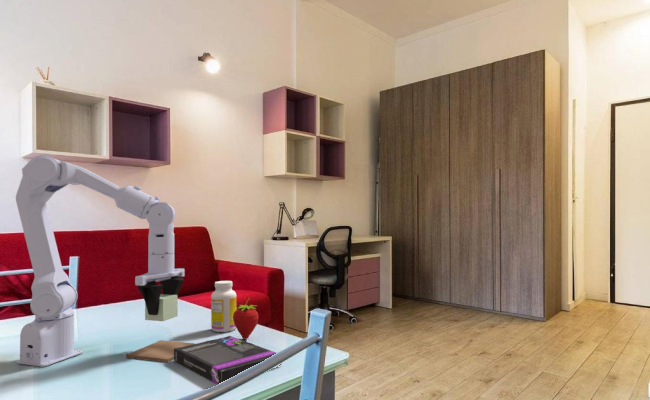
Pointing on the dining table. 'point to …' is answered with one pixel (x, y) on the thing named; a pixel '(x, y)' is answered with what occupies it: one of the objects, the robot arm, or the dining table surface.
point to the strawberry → (245, 319)
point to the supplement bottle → (223, 307)
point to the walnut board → (158, 351)
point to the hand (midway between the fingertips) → (161, 311)
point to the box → (220, 357)
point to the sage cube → (164, 308)
